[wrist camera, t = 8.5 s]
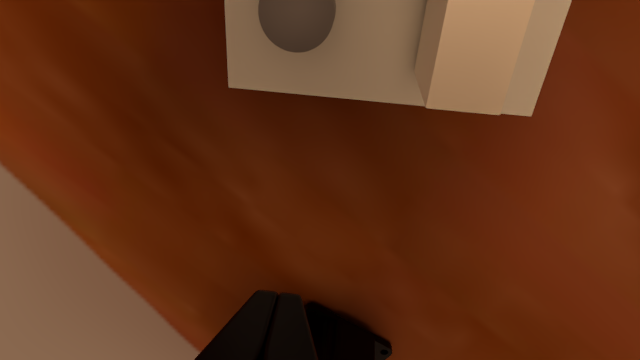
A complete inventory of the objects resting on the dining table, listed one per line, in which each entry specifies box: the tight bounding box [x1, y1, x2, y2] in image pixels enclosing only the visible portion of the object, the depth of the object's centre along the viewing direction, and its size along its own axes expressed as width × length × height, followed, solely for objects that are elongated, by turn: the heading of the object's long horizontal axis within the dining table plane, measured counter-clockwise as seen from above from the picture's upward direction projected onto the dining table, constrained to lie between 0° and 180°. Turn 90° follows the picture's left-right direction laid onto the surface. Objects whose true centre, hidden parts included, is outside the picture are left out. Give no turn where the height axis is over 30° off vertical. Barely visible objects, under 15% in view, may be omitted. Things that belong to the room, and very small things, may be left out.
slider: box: [414, 0, 535, 115], centre depth 15 cm, size 4×2×4 cm, turn 176°
